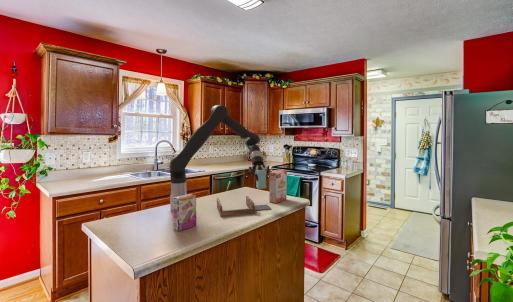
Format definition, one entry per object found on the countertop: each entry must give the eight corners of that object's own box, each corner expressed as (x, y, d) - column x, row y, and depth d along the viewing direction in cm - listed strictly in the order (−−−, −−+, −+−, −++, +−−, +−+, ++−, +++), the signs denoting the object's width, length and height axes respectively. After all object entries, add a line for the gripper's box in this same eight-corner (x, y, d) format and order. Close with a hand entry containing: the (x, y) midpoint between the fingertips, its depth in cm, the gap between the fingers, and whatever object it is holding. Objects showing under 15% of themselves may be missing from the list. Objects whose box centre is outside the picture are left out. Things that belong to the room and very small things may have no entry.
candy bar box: (178, 232, 130) (177, 199, 129) (172, 229, 133) (171, 197, 132) (197, 225, 139) (196, 194, 137) (191, 223, 142) (190, 193, 141)
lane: (216, 207, 171) (216, 198, 171) (247, 204, 176) (247, 196, 176) (220, 216, 153) (220, 206, 152) (255, 213, 158) (254, 203, 157)
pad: (251, 206, 173) (251, 205, 173) (266, 205, 175) (266, 204, 175) (255, 210, 163) (255, 210, 163) (271, 209, 166) (271, 208, 166)
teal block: (256, 187, 171) (256, 170, 170) (263, 186, 172) (263, 169, 171) (258, 188, 166) (258, 171, 165) (266, 188, 167) (265, 170, 166)
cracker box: (276, 203, 179) (276, 172, 177) (269, 202, 182) (268, 172, 181) (287, 199, 190) (287, 170, 188) (280, 198, 193) (279, 169, 192)
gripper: (247, 155, 173) (251, 177, 162) (268, 155, 176) (274, 176, 165) (245, 163, 178) (249, 184, 167) (266, 162, 182) (271, 182, 171)
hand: (261, 180), depth 167 cm, fingers closed on teal block, 5 cm apart
